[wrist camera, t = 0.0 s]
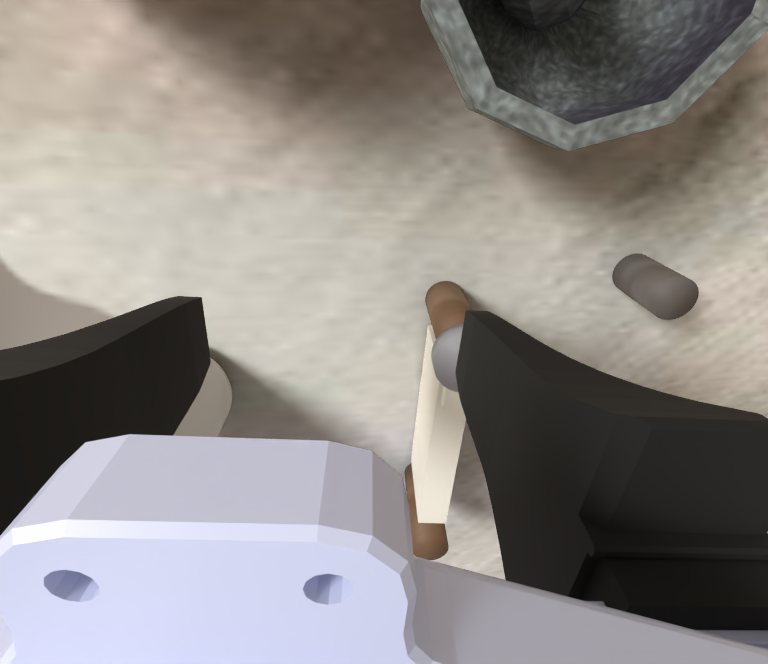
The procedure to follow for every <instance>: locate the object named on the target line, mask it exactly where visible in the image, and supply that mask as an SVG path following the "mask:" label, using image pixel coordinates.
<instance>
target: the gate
mask: <svg viewBox="0 0 768 664" xmlns="http://www.w3.org/2000/svg"><path fill="white" fill-rule="evenodd" d="M463 324H464V323H461V324H457V325H454V326H452V327H450V328H448V329H447V330H445V331H444V332H443V333H441V334H440V335H439V337H438V338H437V339H436V338H435V335H434V331H433V327H432V325H428V329H427V337H426V344H425V352H424V360H423V368H422V376H421V384H420V392H419V400H418V408H417V416H416V424H415V431H414V439H413V447H412V455H411V464H412V473H413V482H414V491H415V499H416V508H417V517H418V523H446V519H447V514H448V509H449V504H450V499H451V494H452V489H453V483H454V478H455V473H456V468H457V463H458V458H459V453H460V447H461V442H462V437H463V432H464V427H465V422H466V417H465V414H464V411H463V408H462V405H461V402H460V397H459V392H458V386H457V380H456V374H455V371H456V365H457V359H458V353H459V348H460V342H461V336H462V330H463Z"/></svg>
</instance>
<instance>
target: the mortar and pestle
mask: <svg viewBox="0 0 768 664" xmlns="http://www.w3.org/2000/svg"><path fill="white" fill-rule="evenodd" d="M420 8H421V11H422V14H423V16H424V18H425V20H426V22H427V24H428V27H429V29H430V31H431V33H432V35H433V37H434V39H435V41H436V43H437V45H438V47H439V49H440V52H441V54H442V56H443V58H444V60H445V62H446V64H447V66H448V68H449V70H450V72H451V74H452V77H453V79H454V81H455V83H456V85H457V87H458V89H459V91H460V93H461V95H462V97H463V99H464V102H465V103H466V105H467V107H468V108H469V109H470V110H472V111H474V112H476V113H479V114H481V115H483V116H485V117H487V118H489V119H491V120H494V121H496V122H498V123H500V124H502V125H504V126H507V127H509V128H511V129H513V130H515V131H517V132H519V133H522V134H524V135H526V136H528V137H530V138H532V139H535V140H537V141H539V142H541V143H543V144H545V145H547V146H550V147H552V148H556V149H560V150H565V151H571V150H575V149H579V148H582V147H586V146H590V145H594V144H597V143H601V142H605V141H608V140H612V139H616V138H620V137H623V136H627V135H631V134H634V133H638V132H642V131H645V130H649V129H653V128H657V127H660V126H664V125H668V124H671V123H674V122H675V121H676V120H677V119H678V118H679V117H680V116H681V115H682V114H683V113H684V112H685V111H686V110H687V109H688V108H689V107H690V106H691V105H692V104H693V103H694V102H695V101H696V100H697V99H698V98H699V97H700V96H701V95H702V94H703V93H704V92H705V91H706V90H707V89H708V88H709V87H710V86H711V85H712V84H713V83H714V82H715V81H716V80H717V79H718V78H719V77H720V76H721V75H722V74H723V73H724V72H725V71H726V70H727V69H728V68H729V67H730V66H731V65H732V64H733V63H734V62H735V61H736V60H737V59H739V58H740V57H741V56H742V55H743V54H744V53H745V52H746V51H747V50H748V49H749V48H750V47H751V46H752V45H753V44H754V43H755V42H756V41H757V40H758V39H759V38H760V37H761V36H762V35H763V34H764V33H765V32H766V31H767V30H768V0H421V6H420Z"/></svg>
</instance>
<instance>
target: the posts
mask: <svg viewBox="0 0 768 664" xmlns="http://www.w3.org/2000/svg"><path fill="white" fill-rule="evenodd" d="M613 282H614V284H615V286H616V287H617V288H619V289H620V290H621V291H623V292H624V293H625V294H627V295H628V296H630V297H631V298H632V299H634V300H635V301H636V302H638V303H639V304H641V305H642V306H643V307H645V308H646V309H647V310H649V311H650V312H651V313H653V314H654V315H656V316H657V317H659V318H661V319H664V320H672V319H676V318H679V317H681V316H683V315H684V314H686V313H687V312H688V311H690V310H691V309H692V307H693V306H694V305H695V303H696V301H697V298H698V293H699V292H698V287H697V285H696V284H695V283H694V282H693V281H692V280H690V279H688V278H686V277H685V276H683V275H681V274H679V273H677V272H675V271H673V270H672V269H670V268H668V267H666V266H664V265H662V264H660V263H659V262H657V261H655V260H653V259H651V258H649V257H647V256H646V255H643V254H632V255H629V256H627V257H625V258H623V259H622V260H621V261H620V262H619V263H618V264H617V265H616V267H615V269H614V271H613ZM425 301H426V306H427V309H428V313H429V317H430V320H431V324H432V327H433V331H434V335H435V338H436V339H437V338H438V337H439V335H440V334H441V333H443V332H444V331H445V330H447V329H448V328H450V327H452V326H454V325H457V324H461V323H464V318H465V312H466V310H470V311H472V310H471V308H470V306H469V304H468V302H467V300H466V298H465V296H464V294H463V292H462V290H461V288H460V287H459V286H458V285H457V284H455V283H453V282H450V281H442V282H439V283H436V284H435V285H433V286H432V287H431V288H430V289H429V290H428V292H427V294H426V300H425ZM405 481H406V492H407V500H408V504H409V513H410V524H411V534H412V545H413V554H414V555H415V556H416V557H419V558H423V559H427V560H435V559H438V558H440V557H442V556H444V555H445V554H446V553H447V551H448V541H447V536H446V530H445V524H444V523H418V517H417V508H416V499H415V491H414V482H413V473H412V464H410V465H408V466H407V468H406V469H405Z"/></svg>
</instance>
